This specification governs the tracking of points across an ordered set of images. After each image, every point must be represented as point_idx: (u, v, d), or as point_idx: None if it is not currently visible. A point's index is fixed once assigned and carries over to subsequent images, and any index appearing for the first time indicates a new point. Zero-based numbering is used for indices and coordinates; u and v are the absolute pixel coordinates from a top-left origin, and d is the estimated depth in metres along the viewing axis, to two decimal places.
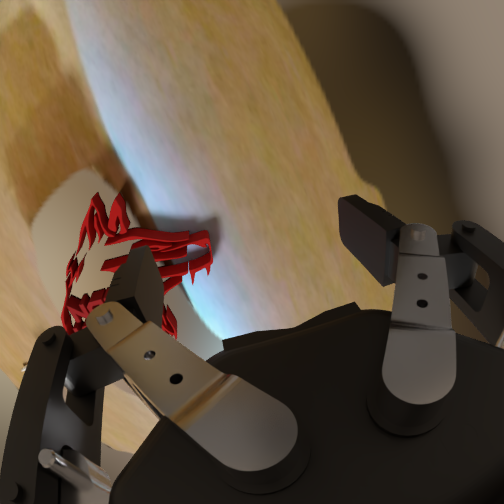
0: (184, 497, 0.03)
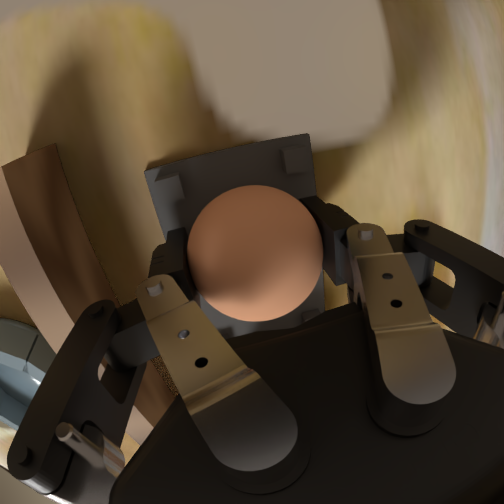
0: (184, 497, 0.03)
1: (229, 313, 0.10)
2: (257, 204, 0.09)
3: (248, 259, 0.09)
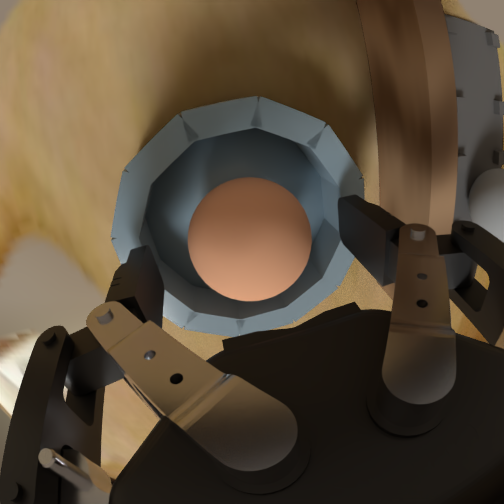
0: (184, 497, 0.03)
1: (225, 292, 0.11)
2: (250, 193, 0.10)
3: (241, 241, 0.10)
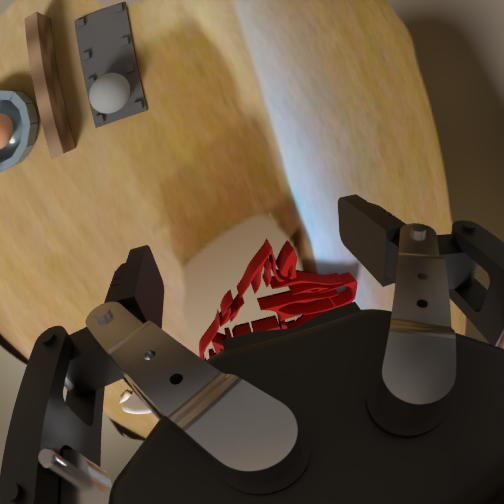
0: (184, 497, 0.03)
1: None
2: None
3: None
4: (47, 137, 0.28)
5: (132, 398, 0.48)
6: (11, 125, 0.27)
